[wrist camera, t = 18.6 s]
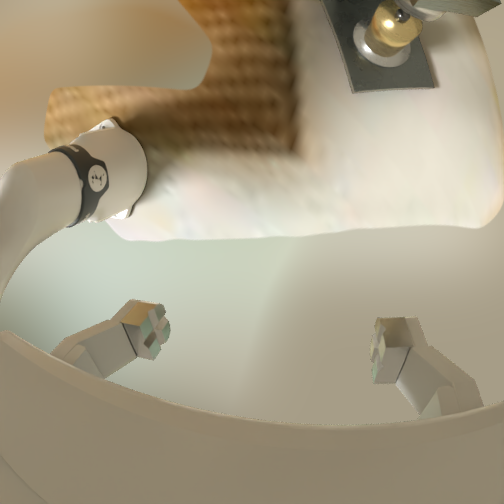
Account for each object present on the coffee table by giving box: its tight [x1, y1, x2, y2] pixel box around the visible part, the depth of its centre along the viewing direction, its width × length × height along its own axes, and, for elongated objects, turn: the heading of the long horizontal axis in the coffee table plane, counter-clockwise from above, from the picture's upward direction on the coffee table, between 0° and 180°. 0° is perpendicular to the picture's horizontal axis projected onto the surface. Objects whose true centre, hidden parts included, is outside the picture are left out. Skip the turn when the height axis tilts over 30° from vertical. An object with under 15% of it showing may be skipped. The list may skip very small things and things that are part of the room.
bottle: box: [364, 0, 422, 57], centre depth 19 cm, size 5×5×10 cm
